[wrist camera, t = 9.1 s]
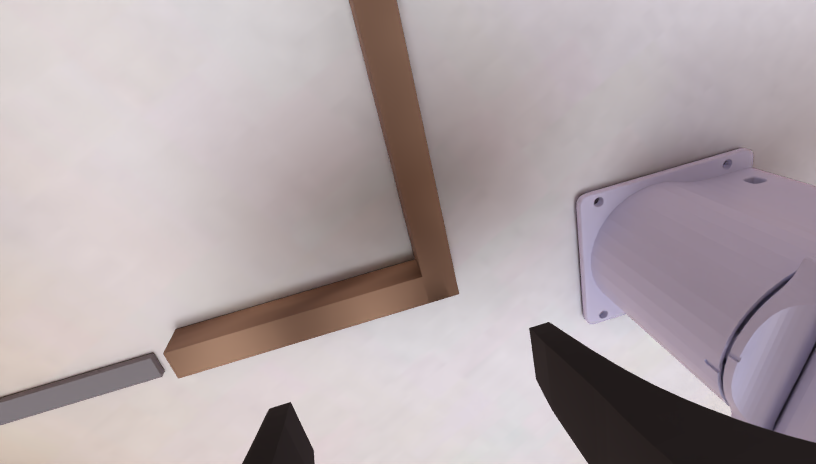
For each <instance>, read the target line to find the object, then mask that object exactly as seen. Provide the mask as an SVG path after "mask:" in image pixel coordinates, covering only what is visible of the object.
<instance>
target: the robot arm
mask: <svg viewBox="0 0 816 464" xmlns="http://www.w3.org/2000/svg"><path fill="white" fill-rule="evenodd" d="M753 158H754V155H753V152H752V150H750V149H746V148H740V149H736V150H733V151H729V152H726V153H722V154H719V155H715V156H712V157H709V158H705V159H702V160H698V161H695V162H691V163H688V164H685V165H681V166H678V167H674V168H671V169H667V170H664V171H660V172H657V173H654V174H650V175H647V176H643V177H640V178H636V179H633V180H630V181H626V182H623V183H619V184H616V185H612V186H609V187H605V188H602V189H599V190H595V191H592V192H588V193H585V194H583V195H581V196H580V197H579V198H578V200H577V204H576V208H577V223H578V238H579V254H580V269H581V284H582V299H583V315H584V319H585V320H586V321H587V322H588V323H589V324H596V323H599V322H602V321H605V320H608V319H612V318H615V317H618V316H621V315H624V314H627V315H628V316H629V317H630V318H631V319H632V320H634V321H635V322H636V323H637V324H638V325H639V326H640V327H641V328H642V329H644V330H645V331H646V332H647V333H648V334H649V335H650V336H651V337H652V338H654V339H655V340H656V341H657V342H658V343H659V344H660V345H661V346H662V347H664V348H665V349H666V350H667V351H668V352H669V353H670V354H671V355H673V356H674V357H675V358H676V359H677V360H678V361H679V362H680V363H681V364H683V365H684V366H685V367H686V368H687V369H688V370H689V371H690V372H691V373H693V374H694V375H695V376H696V377H697V378H698V379H699V380H700V381H701V382H703V383H704V384H705V385H706V386H707V387H708V388H709V389H710V390H711V391H713V392H714V393H715V394H716V395H717V396H718V397H719V398H720V399H722V400H723V401H724V402H725V403H726V404H727V405H728V406H730V408H731V413H732V414H731V417H729V416H727V415H724V414H722V413H719V412H716V411H714V410H711V409H708V408H706V407H703V406H700V405H698V404H696V403H693V402H691V401H688V400H686V399H684V398H681V397H679V396H677V395H675V394H673V393H670V392H668V391H666V390H664V389H662V388H659V387H657V386H655V385H653V384H651V383H649V382H647V381H645V380H643V379H642V378H640V377H638V376H636V375H634V374H632V373H630V372H628V371H627V370H625V369H623V368H621V367H620V366H618V365H616V364H614V363H613V362H611V361H609V360H608V359H606V358H604V357H603V356H601V355H599V354H598V353H596V352H594V351H593V350H591V349H590V348H588V347H586V346H585V345H583V344H582V343H580V342H579V341H577V340H576V339H574V338H573V337H571V336H570V335H568V334H567V333H565V332H563V331H562V330H560V329H559V328H557V327H556V326H554V325H553V324H551V323H549V322H547V323H544V324H541V325H538V326H535V327H531V328H529V330H530V337H531V344H532V352H533V359H534V367H535V374H536V380H537V382H538V384H539V386H540V388H541V390H542V392H543V394H544V396H545V397H546V399H547V401H548V403H549V405H550V407H551V409H552V411H553V412H554V414H555V415H556V417H557V418H558V420H559V421H560V423H561V424H562V426H563V427H564V429H565V430H566V432H567V433H568V434H569V436H570V437H571V439H572V440H573V442H574V443H575V445H576V446H577V448H578V449H579V451H580V452H581V454H582V455H583V457H584V458H585V459H586V461H587V462H588V464H816V186H813V185H810V184H807V183H803V182H800V181H796V180H793V179H790V178H786V177H783V176H779V175H776V174H773V173H769V172H766V171H762V170H759V169H756V168H752V166H753ZM725 161H726V162H725ZM724 162H725V164H724V166H723V163H724ZM598 197H599V201H598V202H597V203H596V204H594V201H595V199H596V198H598ZM602 311H603V312H602ZM601 312H602V313H601ZM600 313H601V314H600ZM242 464H315V463H314V450H313V448H312V446H311V444H310V442H309V440H308V437H307V435H306V433H305V431H304V429H303V427H302V425H301V423H300V421H299V419H298V417H297V414H296V412H295V410H294V408H293V406H292V404H291V402H289V403H286V404H283V405H280V406H276V407H273V408H270V409H269V411H268V412H267V414H266V416H265V418H264V420H263V422H262V424H261V427H260V429H259V431H258V433H257V435H256V437H255V439H254V441H253V443H252V445H251V447H250V449H249V451H248V453H247V455H246V457H245V459H244V461H243V463H242Z"/></svg>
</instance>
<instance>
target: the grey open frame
mask: <svg viewBox="0 0 816 464" xmlns="http://www.w3.org/2000/svg"><path fill="white" fill-rule="evenodd" d="M164 372H165V371H164V369H163V368H162V366H161V365H160V363H159V361H158V360H157V358H156V356H155V355H154V353H151V354H148V355H145V356H141V357H138V358H134V359H131V360H128V361H124V362H121V363H118V364H114V365H111V366H107V367H104V368H101V369H97V370H94V371H90V372H87V373H84V374H80V375H77V376H74V377H70V378H67V379H63V380H60V381H57V382H53V383H50V384H47V385H43V386H40V387H36V388H33V389H30V390H26V391H23V392H20V393H16V394H13V395H9V396H6V397H3V398H0V425H3V424H6V423H10V422H13V421H16V420H20V419H23V418H26V417H30V416H33V415H36V414H39V413H43V412H46V411H49V410H53V409H56V408H59V407H63V406H66V405H69V404H73V403H76V402H79V401H83V400H86V399H89V398H93V397H96V396H99V395H103V394H106V393H109V392H113V391H116V390H119V389H123V388H126V387H129V386H133V385H136V384H139V383H143V382H146V381H149V380H153V379H156V378H159V377H162V376H163V374H164Z"/></svg>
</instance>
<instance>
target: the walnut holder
mask: <svg viewBox="0 0 816 464" xmlns="http://www.w3.org/2000/svg"><path fill="white" fill-rule="evenodd" d="M349 3H350V6H351V10H352V14H353V18H354V22H355V26H356V30H357V34H358V38H359V42H360V46H361V50H362V53H363V57H364V61H365V65H366V69H367V73H368V77H369V81H370V85H371V89H372V93H373V97H374V100H375V104H376V108H377V112H378V116H379V120H380V124H381V128H382V132H383V136H384V140H385V144H386V147H387V151H388V155H389V159H390V163H391V167H392V171H393V175H394V179H395V183H396V187H397V191H398V194H399V198H400V202H401V206H402V210H403V214H404V218H405V222H406V226H407V230H408V234H409V238H410V241H411V245H412V249H413V253H414V257H415V259H414V260H411V261H407V262H404V263H400V264H397V265H394V266H390V267H387V268H383V269H380V270H376V271H373V272H370V273H366V274H363V275H359V276H356V277H353V278H349V279H346V280H342V281H339V282H336V283H332V284H329V285H325V286H322V287H319V288H315V289H312V290H308V291H305V292H302V293H298V294H295V295H291V296H288V297H284V298H281V299H278V300H274V301H271V302H267V303H264V304H261V305H257V306H254V307H250V308H247V309H244V310H240V311H237V312H233V313H230V314H227V315H223V316H220V317H216V318H213V319H210V320H206V321H203V322H199V323H196V324H192V325H189V326H186V327H182V328H179V329H176V330H175V332H174V333H173V335H172V337H171V339H170V341H169V343H168V345H167V347H166V349H165V351H164V353H163V354H164V356H165V358H166V359H167V361H168V362H169V364H170V366H171V367H172V369H173V371H174V372H175V374H176V376H177V377H178V378H182V377H185V376H188V375H192V374H195V373H198V372H202V371H205V370H208V369H212V368H215V367H218V366H222V365H225V364H228V363H232V362H235V361H238V360H242V359H245V358H248V357H252V356H255V355H258V354H262V353H265V352H268V351H271V350H275V349H278V348H281V347H285V346H288V345H291V344H295V343H298V342H301V341H305V340H308V339H311V338H315V337H318V336H321V335H325V334H328V333H331V332H335V331H338V330H341V329H345V328H348V327H351V326H355V325H358V324H361V323H364V322H368V321H371V320H374V319H378V318H381V317H384V316H388V315H391V314H394V313H398V312H401V311H404V310H408V309H411V308H414V307H418V306H421V305H424V304H428V303H431V302H434V301H438V300H441V299H444V298H447V297H451V296H454V295H457V294H459V291H458V287H457V282H456V277H455V273H454V268H453V263H452V258H451V254H450V249H449V244H448V240H447V235H446V230H445V226H444V221H443V216H442V212H441V207H440V202H439V197H438V193H437V188H436V183H435V179H434V174H433V169H432V165H431V160H430V155H429V151H428V146H427V141H426V136H425V132H424V127H423V122H422V118H421V113H420V108H419V104H418V99H417V94H416V90H415V85H414V80H413V75H412V71H411V66H410V61H409V57H408V52H407V47H406V43H405V38H404V33H403V29H402V24H401V19H400V14H399V10H398V5H397V0H349Z"/></svg>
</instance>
